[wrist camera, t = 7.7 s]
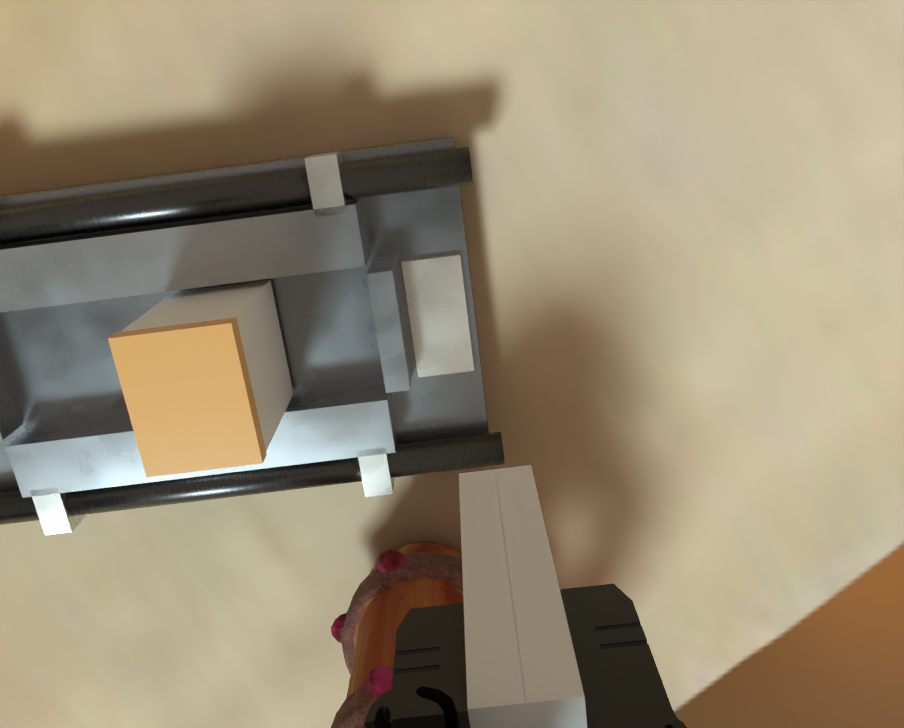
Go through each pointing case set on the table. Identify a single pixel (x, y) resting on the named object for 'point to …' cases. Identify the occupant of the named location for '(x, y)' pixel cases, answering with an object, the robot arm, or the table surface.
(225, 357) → the orange grey block
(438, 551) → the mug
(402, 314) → the panel
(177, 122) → the table surface
